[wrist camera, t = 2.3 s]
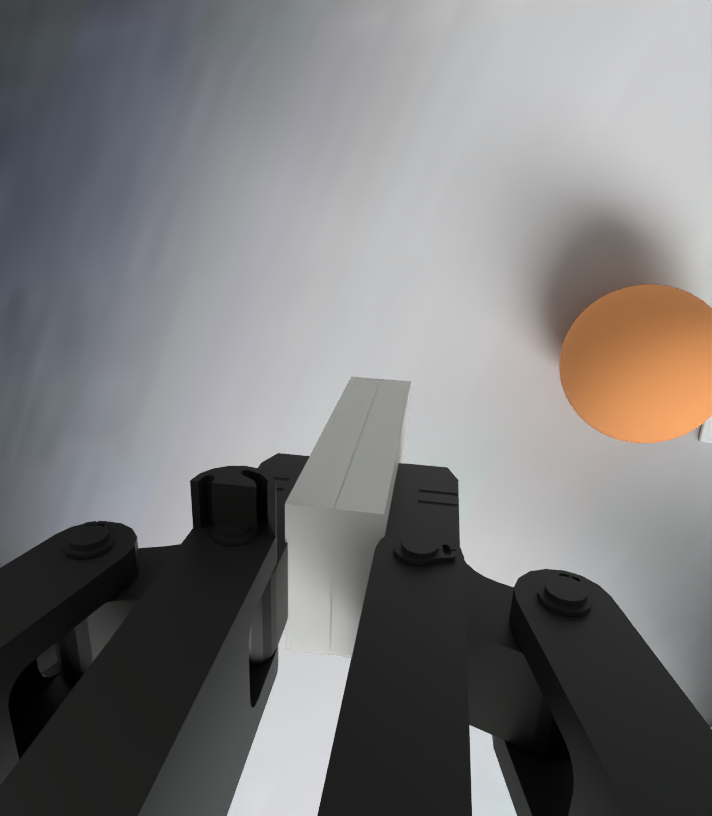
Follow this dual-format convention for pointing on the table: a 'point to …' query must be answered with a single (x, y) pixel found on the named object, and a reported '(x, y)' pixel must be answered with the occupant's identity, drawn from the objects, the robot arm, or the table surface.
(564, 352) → the ball
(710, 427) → the white square tile
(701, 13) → the table surface
